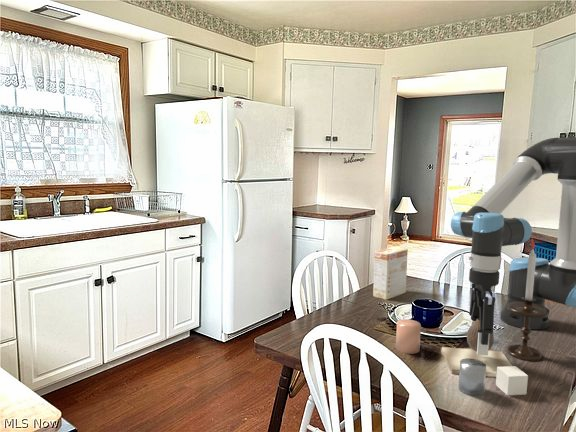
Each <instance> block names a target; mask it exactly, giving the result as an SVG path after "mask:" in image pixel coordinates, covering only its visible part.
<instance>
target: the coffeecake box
mask: <svg viewBox="0 0 576 432" xmlns="http://www.w3.org/2000/svg"><path fill="white" fill-rule="evenodd" d="M373 258H374V259H373V260H374V261H373V289H372V292H373V293H372V296H373V297H375V298H379V299H382V300H385V301H387V300H389V299H393V298H395V297H398V296H401V295H403V294H405V293H406V292H407V275H408V274H407V273H408V272H407V271H408V248H405V247H404V248H403V247H399V246H391V247H387V248H383V249H379V250H374V257H373Z"/></svg>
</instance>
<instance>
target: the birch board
mask: <svg viewBox="0 0 576 432" xmlns="http://www.w3.org/2000/svg"><path fill="white" fill-rule="evenodd" d="M441 353H442V354H443V358H444V359H445V361H446V364H447V366H448V368H449V371H450V372H451V374H455V375H459V372H460V361H461V360H462V359H465V358H471V359H476V360H479V361H482V362H483V363H485V364H486V377H490V378H496V375H497V367H505V366H513V365H512V363H511V362H510V360H509V359H508V358H507V357H506V355H505V354H504V353H503V351H501V350H500V351H498V350H489V351H488V355H477V352H476V351H474V350H472V349H471V348H457V347H445V346H444V347H443V346H441Z"/></svg>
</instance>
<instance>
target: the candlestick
mask: <svg viewBox="0 0 576 432" xmlns="http://www.w3.org/2000/svg"><path fill="white" fill-rule="evenodd" d="M530 243H531V251H530V253H528V258H529V259H528V271H527V282H526V294H525V297H521V299H523V300H525V301H524V302H510V303H508V304H507V309H508V310H509V311H510V312H512V313H515V314H518V315H521V316H525V318H524V327H522V328H520V332H521V333H522V335H521V336H520V339H521V341H522V343H521V344H511V345H508V346H507V348H506V352H507V354H508V355H509V356H511V357H512V358H516V359H517V360H521V361H526V362H527V361H528V362H537V361H540V360H541V359H542V355H543V354H542V352H541V351H540V350H538V349H536V348H534V347H531V346H528V341H530V340H531V338H530V336H529V335H530V334H531V333H532V329H530V328H529V320H530V317H533V318H543V317H547V316H548V317H549V316H550V309H548V308H547V307H546V306H545V307H544V306H541V305H538V304H534V303H532V302H533V301H536V299H534V298H533V286H534V275H535V263H536V258H537V254H536V253H535V248H536V245H535V242H534V239H533V237H532V238H531V240H530Z"/></svg>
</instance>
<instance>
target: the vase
mask: <svg viewBox="0 0 576 432" xmlns="http://www.w3.org/2000/svg"><path fill="white" fill-rule="evenodd" d="M477 330H480V318H478V319H477V320H476V321H475V323H473V324H472V325H471V324H470V326H469V328H468V329H467V333H466V340H467V344H468V346H469V348H470V349H472V350H474V351H476V352H477V344H478V332H477ZM494 338H495V337H494V333H493V334H490V336H489V349H488V351H491V349H492V348H493V345H494V341H495V339H494Z"/></svg>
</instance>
